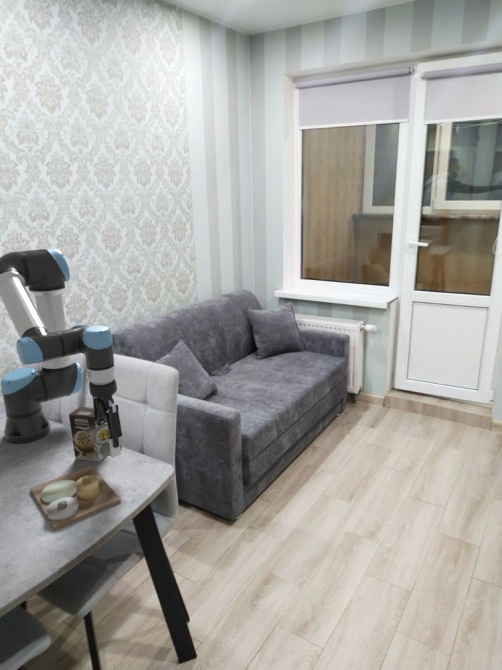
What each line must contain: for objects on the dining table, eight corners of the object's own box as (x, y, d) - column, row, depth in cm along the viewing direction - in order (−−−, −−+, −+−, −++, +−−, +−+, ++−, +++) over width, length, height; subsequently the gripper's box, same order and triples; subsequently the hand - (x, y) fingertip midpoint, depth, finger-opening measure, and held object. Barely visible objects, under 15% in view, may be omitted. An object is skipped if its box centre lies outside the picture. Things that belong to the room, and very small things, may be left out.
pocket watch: (116, 458, 139) (112, 428, 136) (89, 455, 140) (85, 425, 137) (128, 443, 146) (125, 414, 143) (102, 441, 148) (99, 412, 145)
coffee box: (74, 459, 153) (67, 414, 149) (85, 449, 159) (79, 405, 155) (99, 462, 151) (93, 416, 147) (109, 452, 157) (104, 407, 153)
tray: (30, 491, 138) (27, 472, 136) (91, 468, 148) (89, 450, 147) (54, 530, 121) (50, 509, 119) (120, 501, 132) (118, 482, 130)
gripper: (76, 372, 141) (85, 440, 148) (103, 395, 126) (112, 469, 133) (101, 366, 145) (108, 432, 153) (130, 387, 130) (137, 460, 137)
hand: (110, 449), depth 143 cm, fingers closed on pocket watch, 8 cm apart
